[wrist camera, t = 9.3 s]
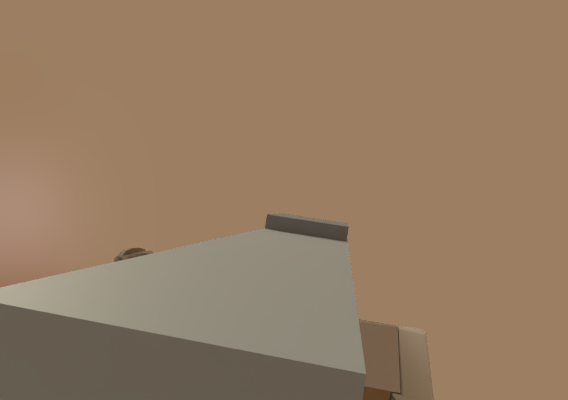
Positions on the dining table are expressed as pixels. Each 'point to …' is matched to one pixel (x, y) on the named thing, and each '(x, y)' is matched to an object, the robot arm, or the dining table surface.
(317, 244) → the gray block
